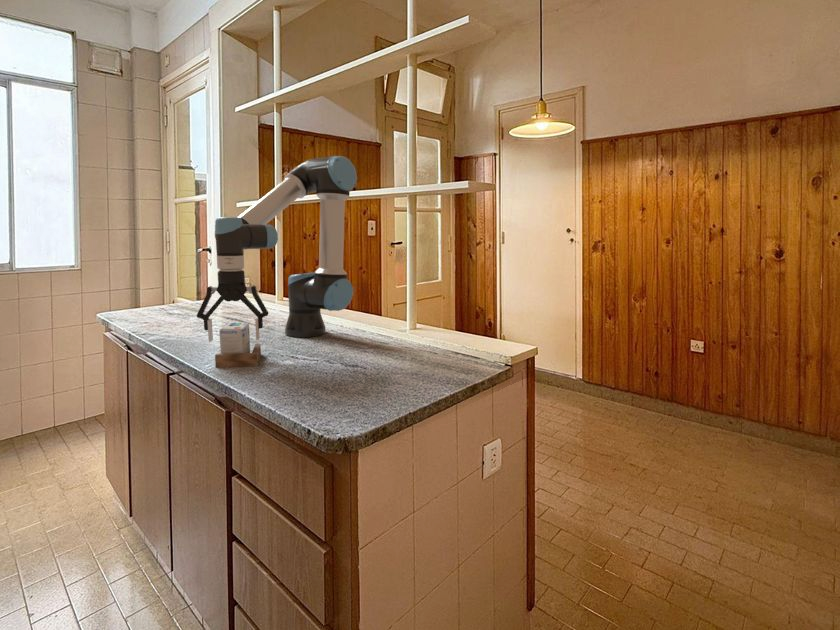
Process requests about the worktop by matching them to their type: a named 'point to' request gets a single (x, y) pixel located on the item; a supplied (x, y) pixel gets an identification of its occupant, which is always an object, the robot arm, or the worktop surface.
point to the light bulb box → (235, 338)
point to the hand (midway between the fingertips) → (234, 340)
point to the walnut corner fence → (239, 358)
